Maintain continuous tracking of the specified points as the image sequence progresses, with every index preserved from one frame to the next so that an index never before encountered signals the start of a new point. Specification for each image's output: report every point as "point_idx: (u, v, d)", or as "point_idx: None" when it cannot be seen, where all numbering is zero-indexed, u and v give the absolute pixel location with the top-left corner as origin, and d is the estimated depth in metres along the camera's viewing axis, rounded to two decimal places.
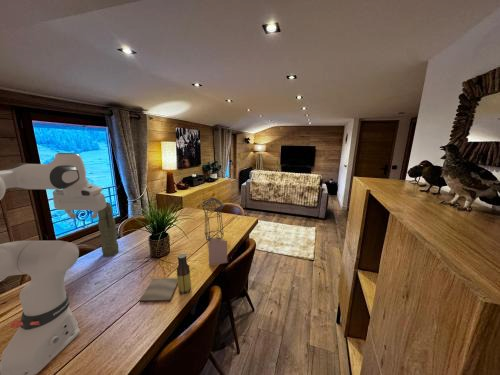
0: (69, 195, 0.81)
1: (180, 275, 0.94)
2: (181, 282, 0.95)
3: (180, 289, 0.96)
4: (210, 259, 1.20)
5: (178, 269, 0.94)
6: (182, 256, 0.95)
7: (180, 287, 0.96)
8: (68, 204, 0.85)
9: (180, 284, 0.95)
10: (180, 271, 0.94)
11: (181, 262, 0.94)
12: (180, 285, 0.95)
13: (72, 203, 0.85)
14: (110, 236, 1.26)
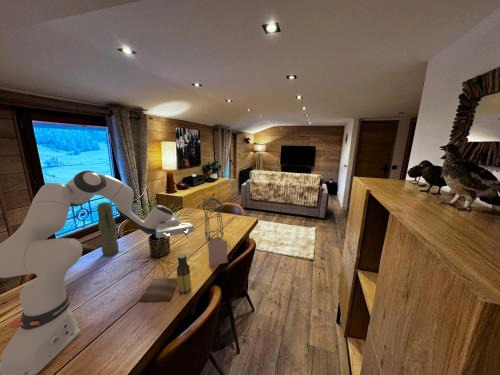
0: None
1: (180, 275, 0.94)
2: (181, 282, 0.95)
3: (180, 289, 0.96)
4: (210, 259, 1.20)
5: (178, 269, 0.94)
6: (182, 256, 0.95)
7: (180, 287, 0.96)
8: None
9: (180, 284, 0.95)
10: (180, 271, 0.94)
11: (181, 262, 0.94)
12: (180, 285, 0.95)
13: None
14: (110, 236, 1.26)
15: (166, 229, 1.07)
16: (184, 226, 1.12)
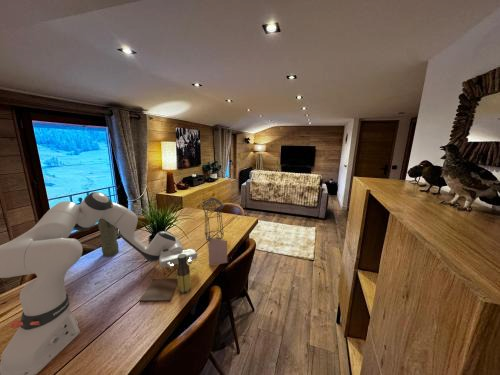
0: None
1: (180, 275, 0.94)
2: (181, 282, 0.95)
3: (180, 289, 0.96)
4: (210, 259, 1.20)
5: (178, 269, 0.94)
6: (182, 256, 0.95)
7: (180, 287, 0.96)
8: None
9: (180, 284, 0.95)
10: (180, 271, 0.94)
11: (181, 262, 0.94)
12: (180, 285, 0.95)
13: None
14: (110, 236, 1.26)
15: (169, 258, 1.07)
16: (187, 254, 1.12)
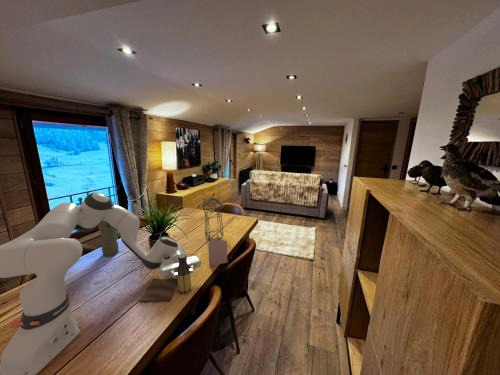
0: None
1: (180, 275, 0.94)
2: (181, 281, 0.95)
3: (180, 289, 0.96)
4: (210, 259, 1.20)
5: (178, 269, 0.94)
6: (182, 256, 0.95)
7: (180, 287, 0.96)
8: None
9: (180, 284, 0.95)
10: (180, 271, 0.94)
11: (181, 262, 0.94)
12: (180, 285, 0.95)
13: None
14: (110, 236, 1.26)
15: (171, 266, 0.99)
16: (190, 261, 1.04)
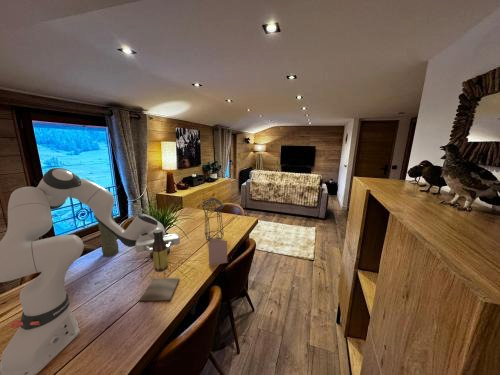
0: None
1: (155, 251, 0.90)
2: (156, 258, 0.91)
3: (155, 266, 0.92)
4: (210, 259, 1.20)
5: (153, 245, 0.91)
6: (158, 231, 0.91)
7: (155, 264, 0.92)
8: None
9: (155, 261, 0.91)
10: (155, 247, 0.90)
11: (156, 237, 0.90)
12: (155, 262, 0.92)
13: None
14: (110, 236, 1.26)
15: (147, 242, 0.95)
16: (168, 238, 1.00)
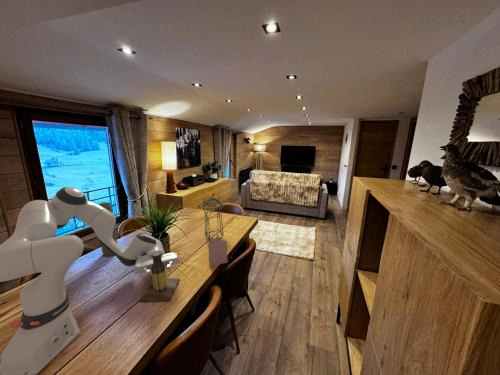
0: None
1: (154, 273, 0.93)
2: (155, 280, 0.94)
3: (155, 287, 0.95)
4: (210, 259, 1.20)
5: (152, 267, 0.94)
6: (156, 254, 0.94)
7: (155, 285, 0.95)
8: None
9: (155, 282, 0.94)
10: (154, 269, 0.93)
11: (155, 260, 0.93)
12: (155, 283, 0.95)
13: None
14: None
15: (147, 263, 0.98)
16: (167, 258, 1.03)
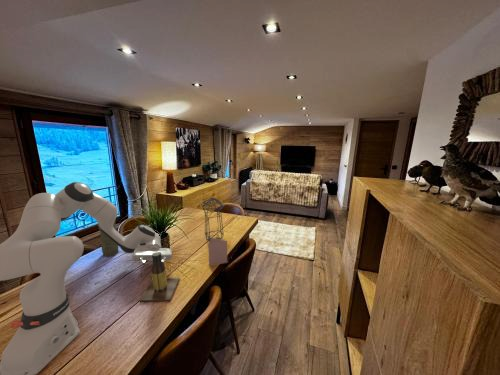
0: None
1: (154, 273, 0.93)
2: (155, 280, 0.94)
3: (155, 287, 0.95)
4: (210, 259, 1.20)
5: (152, 267, 0.93)
6: (156, 254, 0.94)
7: (155, 285, 0.95)
8: None
9: (155, 282, 0.94)
10: (154, 269, 0.93)
11: (155, 260, 0.93)
12: (155, 283, 0.95)
13: None
14: None
15: (144, 253, 1.07)
16: (163, 253, 1.12)
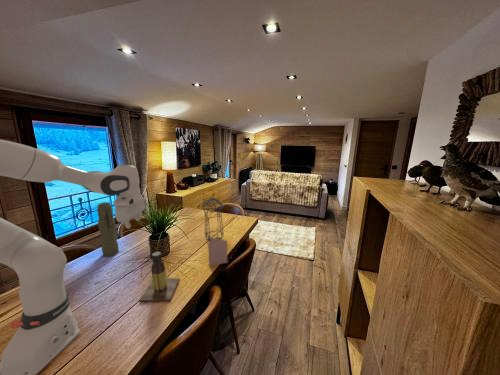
0: None
1: (154, 273, 0.93)
2: (155, 280, 0.94)
3: (155, 287, 0.95)
4: (210, 259, 1.20)
5: (152, 267, 0.93)
6: (156, 254, 0.94)
7: (155, 285, 0.95)
8: None
9: (155, 282, 0.94)
10: (154, 269, 0.93)
11: (155, 260, 0.93)
12: (155, 283, 0.95)
13: None
14: (110, 236, 1.26)
15: (130, 215, 0.93)
16: (140, 208, 1.02)
